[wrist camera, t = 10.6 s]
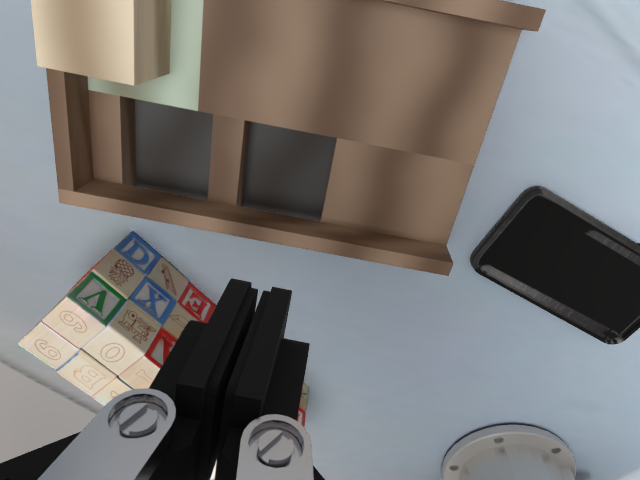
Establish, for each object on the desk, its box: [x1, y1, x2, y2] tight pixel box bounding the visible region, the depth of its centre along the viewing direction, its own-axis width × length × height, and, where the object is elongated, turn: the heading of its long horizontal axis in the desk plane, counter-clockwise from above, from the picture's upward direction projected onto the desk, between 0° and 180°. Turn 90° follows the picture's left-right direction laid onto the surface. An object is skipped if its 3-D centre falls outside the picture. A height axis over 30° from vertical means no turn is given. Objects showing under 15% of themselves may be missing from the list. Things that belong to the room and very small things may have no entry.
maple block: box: [31, 0, 172, 86], centre depth 24 cm, size 5×5×5 cm
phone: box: [470, 186, 640, 344], centre depth 34 cm, size 8×1×15 cm
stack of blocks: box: [18, 231, 309, 480], centre depth 35 cm, size 21×6×12 cm, turn 41°
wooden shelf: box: [46, 0, 546, 276], centre depth 28 cm, size 26×16×5 cm, turn 80°
